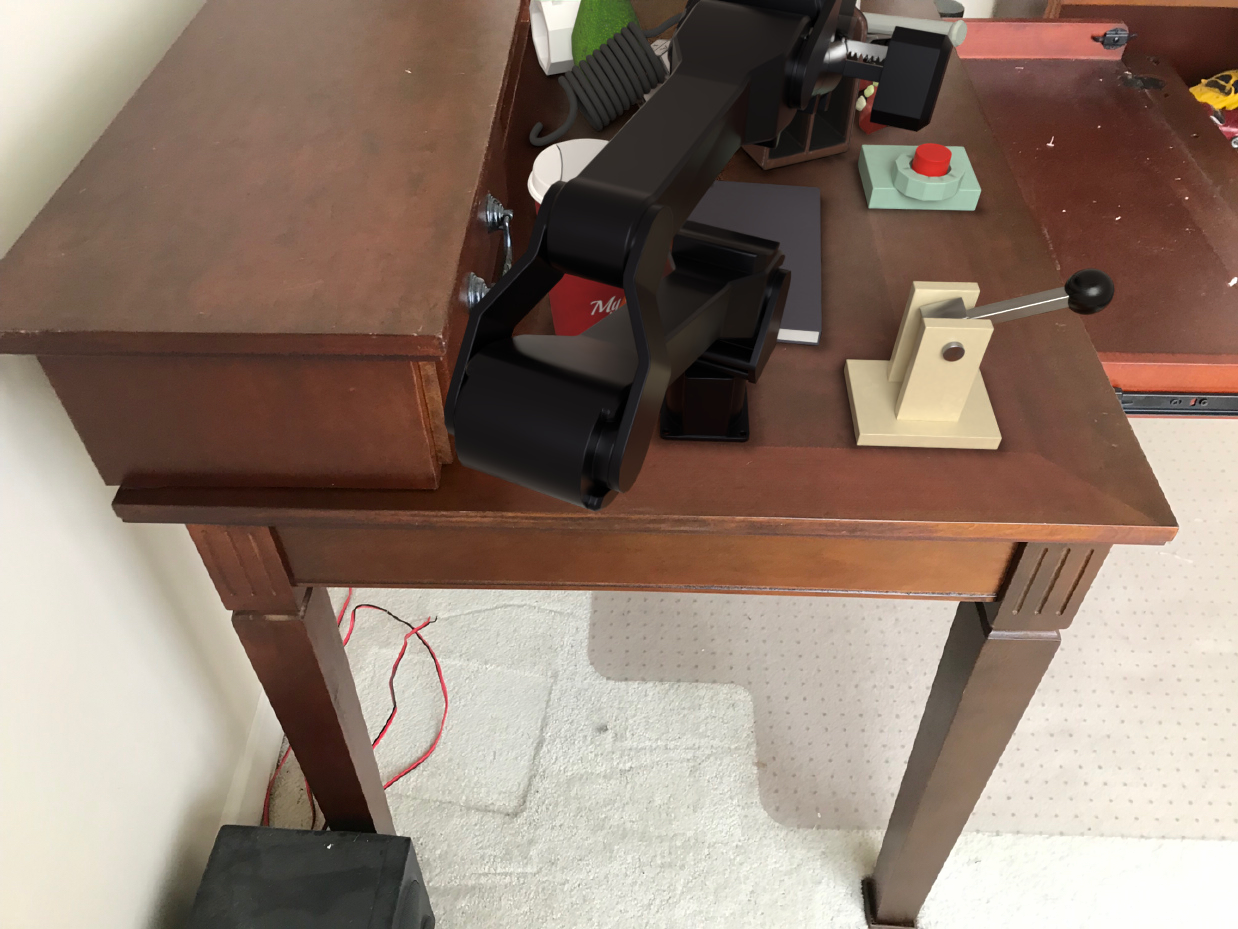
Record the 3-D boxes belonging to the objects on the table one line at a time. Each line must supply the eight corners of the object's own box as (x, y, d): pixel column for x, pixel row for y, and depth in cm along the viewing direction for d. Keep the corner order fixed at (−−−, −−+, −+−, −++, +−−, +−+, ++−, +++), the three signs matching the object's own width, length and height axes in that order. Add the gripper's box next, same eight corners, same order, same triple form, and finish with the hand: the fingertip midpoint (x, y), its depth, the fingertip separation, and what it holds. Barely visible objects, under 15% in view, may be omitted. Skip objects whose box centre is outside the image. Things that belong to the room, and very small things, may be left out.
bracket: (973, 374, 70) (1013, 269, 63) (997, 449, 65) (1044, 345, 57) (843, 370, 70) (868, 266, 63) (856, 445, 65) (885, 340, 58)
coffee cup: (631, 371, 71) (632, 201, 59) (529, 357, 72) (511, 188, 60) (650, 305, 76) (654, 138, 65) (555, 293, 77) (543, 127, 66)
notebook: (818, 346, 72) (817, 201, 86) (821, 330, 71) (820, 186, 85) (661, 332, 74) (685, 192, 88) (661, 317, 72) (686, 177, 86)
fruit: (563, 103, 99) (557, -12, 90) (586, 72, 104) (582, -40, 96) (631, 113, 98) (632, -3, 89) (651, 81, 103) (654, -32, 94)
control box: (979, 223, 84) (992, 184, 81) (871, 220, 84) (880, 182, 81) (957, 166, 91) (969, 128, 88) (857, 164, 91) (865, 126, 88)
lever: (1105, 289, 61) (1106, 253, 59) (1120, 317, 59) (1121, 281, 57) (922, 331, 64) (917, 299, 62) (930, 360, 62) (925, 327, 60)
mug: (630, 76, 106) (549, 90, 103) (607, 23, 108) (528, 35, 106) (643, -14, 95) (553, -1, 92) (617, -70, 97) (530, -58, 95)
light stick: (986, 19, 94) (761, -4, 112) (969, -19, 89) (736, -37, 107) (954, 82, 94) (736, 49, 113) (935, 48, 89) (710, 19, 108)
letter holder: (759, 71, 104) (774, -63, 94) (849, 153, 92) (878, 9, 81) (680, 87, 102) (686, -50, 91) (762, 173, 90) (780, 27, 79)
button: (950, 178, 82) (955, 161, 81) (914, 178, 82) (919, 160, 81) (943, 160, 84) (948, 143, 83) (908, 159, 84) (913, 142, 83)
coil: (516, 121, 96) (501, 54, 88) (685, 55, 99) (685, -16, 90) (542, 168, 94) (528, 103, 86) (715, 99, 96) (717, 30, 88)
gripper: (975, -61, 52) (986, -39, 65) (672, -106, 57) (739, -77, 70) (915, 141, 57) (936, 123, 70) (643, 84, 62) (710, 77, 75)
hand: (829, 58), depth 71 cm, fingers open, 9 cm apart
